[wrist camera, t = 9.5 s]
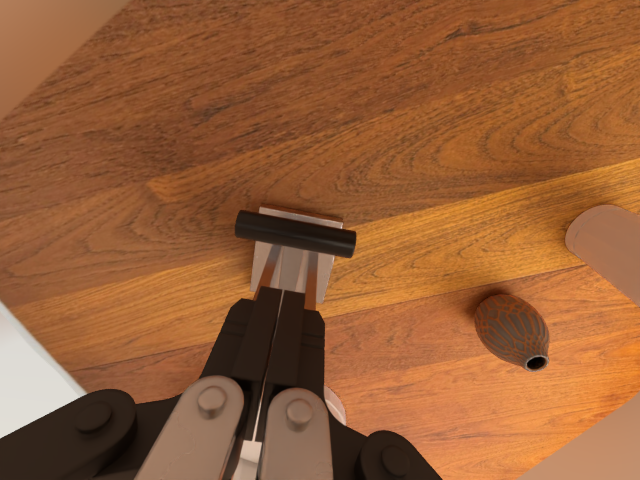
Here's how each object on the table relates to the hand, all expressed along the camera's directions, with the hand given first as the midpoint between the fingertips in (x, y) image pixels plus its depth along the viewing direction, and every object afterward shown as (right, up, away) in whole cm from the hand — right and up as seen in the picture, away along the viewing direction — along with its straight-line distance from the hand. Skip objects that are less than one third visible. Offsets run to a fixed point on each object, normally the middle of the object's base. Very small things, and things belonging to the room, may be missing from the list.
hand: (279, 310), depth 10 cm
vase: (+23, -6, +29) cm, 37 cm away
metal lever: (-1, 0, +11) cm, 11 cm away
